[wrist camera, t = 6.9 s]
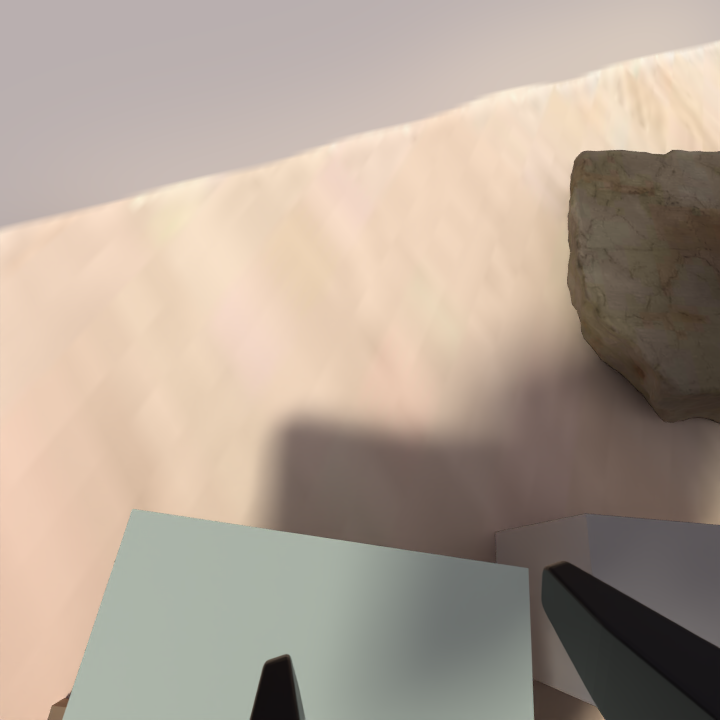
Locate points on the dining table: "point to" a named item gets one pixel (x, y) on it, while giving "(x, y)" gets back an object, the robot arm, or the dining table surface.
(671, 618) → the grey block
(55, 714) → the trapdoor frame
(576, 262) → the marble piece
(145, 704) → the trapdoor
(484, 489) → the dining table surface
